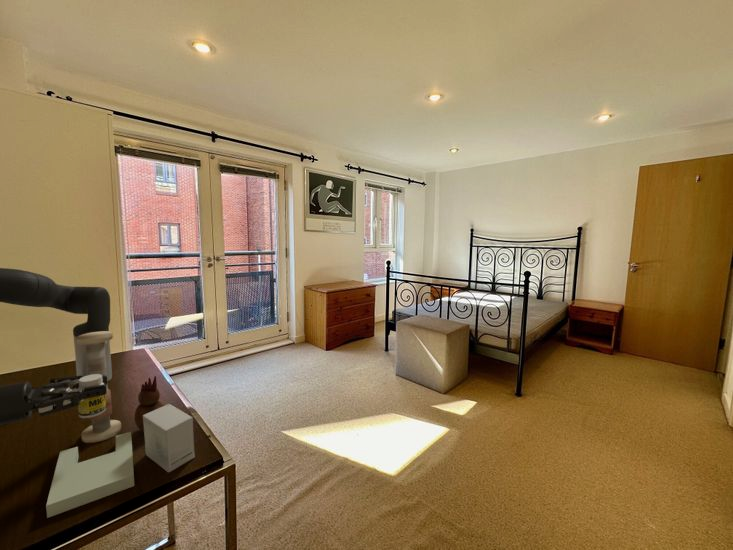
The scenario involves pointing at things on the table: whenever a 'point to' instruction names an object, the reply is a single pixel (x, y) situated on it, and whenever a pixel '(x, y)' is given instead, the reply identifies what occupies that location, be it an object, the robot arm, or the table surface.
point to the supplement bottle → (94, 404)
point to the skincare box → (169, 437)
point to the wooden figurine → (147, 402)
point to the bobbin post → (97, 365)
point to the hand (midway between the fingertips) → (106, 384)
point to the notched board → (90, 476)
